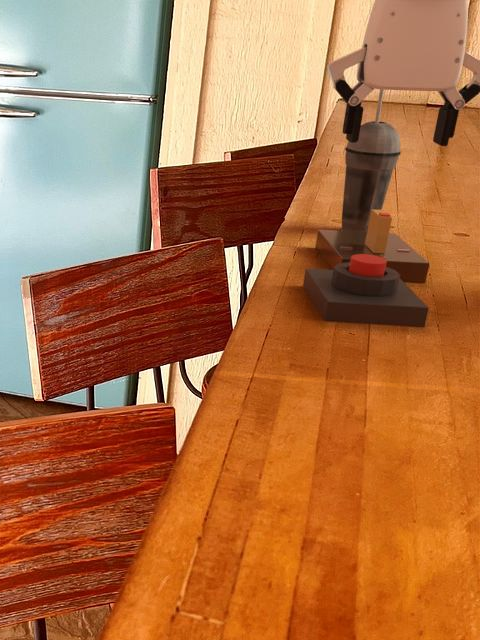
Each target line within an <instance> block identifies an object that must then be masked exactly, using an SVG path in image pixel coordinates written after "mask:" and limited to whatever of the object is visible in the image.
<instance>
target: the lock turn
mask: <svg viewBox="0 0 480 640" xmlns="http://www.w3.org/2000/svg"><path fill="white" fill-rule="evenodd" d="M392 221H393V217H392V215H391V214H390V213H389V212H386V211H385V210H384V209H382V210H374V209H372V210H371V215H370V221H369V226H368V231H367V237H366V242H365V245H366V246H367V247H368V248H369V249H370V250H371V251H372V252H373V253H381V254H385V252H386V246H387V241H388V236H389V233H390V231H391V226H392Z"/></svg>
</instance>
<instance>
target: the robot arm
mask: <svg viewBox="0 0 480 640" xmlns="http://www.w3.org/2000/svg"><path fill="white" fill-rule="evenodd" d="M468 20H469V0H374V1H373V4H372V8H371V11H370V13H369V17H368V21H367V23H366V28H365V32H364V36H363V39H362V40H363V41H362V45H361V48H359V49H357V50H354V51H352V52H350V53H348V54H345V55H343V56H341V57H339V58H337V59H335V60H332V61H331V62H329V63H328V64H327V65H326V66H327V72H328V74H329V77H330V80H331V83H332V85H333V88H334V90H335V91H336V92H337V94H339V96H340V97H341V98H342V100H343V101H344V103H346V106H345V112H344V119H343V125H342V134H343V135H345V140H346V141H347V142H348V141H349V142H351V143H356V142H358V139H359V133H360V127H361V125H362V121H363V115H364V107H363V106H362V101H364V100H365V99H366V98H367V97H368V96H369V95H370V94H371V93H372V92H373V91H374V90H380V89H383V90H384V91H385V90H386V91H389V90H390V91H412V92H413V91H414V92H415V91H416V92H417V91H418V92H437V93H438V94H439V95H440V97H441V99H442V100H443V105H442V106H441V107H440V108H439V109H438V113H437V118H436V123H435V128H434V133H433V138H432V142H433V143H434V144H436V145H439V146H440V147H448V144H449V142H450V141H449V140H450V139H452V138H454V136H455V131H456V127H457V123H458V117H459V112H460V110H462V109H464V107H465V106H466V105H467V104H468V103H469V102H470V101H471V100H473V99H474V98H475V97H477V96H478V95H479V94H480V59H479V58H478V57H475V56H474V55H472V54H470V53H469V52H468V51H466V45H467V37H468V24H469V23H468V22H469V21H468ZM355 65H357V68H356V80H357V83H356V84H355V85H354V86H353V87H351V86H350V84H349V83H348V82H347V80H346V78H345V74H344V73H345V71H346V70H347V69H350V68H351V67H354V66H355ZM463 67H464V68H465V69H467V70H469V71H470V72H472V74H473V75H472V77H471V79H470V81H469V82H468V83H467V84H465V85H464V86H463V87H462V88H460V89H459V90H458V88H457V87H456V86H458V84H459V81H460V79H461V76H462V75H461V74H462V70H463Z"/></svg>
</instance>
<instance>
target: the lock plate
mask: <svg viewBox="0 0 480 640" xmlns="http://www.w3.org/2000/svg"><path fill="white" fill-rule="evenodd" d="M316 233H317V234H316V241H315V245H314V248H315V249H316V251H317V252H318V253H319V254H320V255H321V257H322V258H323V260H325V262H326V263H327V265H328V266H329V267H330V269H331V270H333V269H334V267H335V266H336V265H338V264H339V263H347V262H350V260H351V256H353V255H357V254H367V255H374V256H379V257H382V258H384V259H386V260H387V263H386V267H387V268H390V269H393V270H395V271H396V272H397V273H398V274H399V275H400V279H401V280H402V281H403V282H404V283H414V284H415V283H417V284H426V282H427V277H428V272H429V269H430V264H431V263H430V262H429V261H428V260H426V259H425V258H424V257H423V256H422V255H421V254H419V252H418V251H416V249H414V248H413V247H412V246H410V245H409V244H408V242H406V241H404V239H402V238H401V237H400V236H399V235H398V234H396V233H395V232H393V233H392V232H389V236H388V241H387V246H386V252H385V254H381V253H373V252H372V251H371V250H370V249H369V248H368V247H367V246H366V245H365V242H366V237H367V232H356V231H341V230H335V229H334V230H333V229H317V232H316Z"/></svg>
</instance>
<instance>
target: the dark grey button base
mask: <svg viewBox="0 0 480 640" xmlns="http://www.w3.org/2000/svg"><path fill="white" fill-rule="evenodd" d="M349 266H350V262H347V263H339V264H338V265H336V266H335V267H334V269H333V270H332V269H323V268H305V271H304V276H303V284H302V287H303V289H304V290H305V292H306V294H307V295H308V297H309V298H310V300H311V301H312V303H313V305H314V307H315V308H316V309H317V311H318V312H319V314H320V316H321V317H322V319H323V320H324V322H330V323H331V322H333V323H348V324H363V325H364V324H365V325H366V324H367V325H382V326H383V325H384V326H397V327H398V326H399V327H414V328H425V327H426V323H427V318H428V314H429V309H430V307H429V306H428V305H427V304H426V303H425V302H424V301H423V300H422V299H421V298H420V297H419V296H418V295H417V294H416V293H415V292H414V291H413V290H412V289H411V288H410V287H409V285H407V284H406V282H403V281H402V280H401V279H400V275H399V274H398V273H397V272H396V271H395V270H393V269H390V268H387V267H386V268H385V273H384V276H381V277H370V276H362V275H357V274H354V273H351V272H348V271H349Z"/></svg>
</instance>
